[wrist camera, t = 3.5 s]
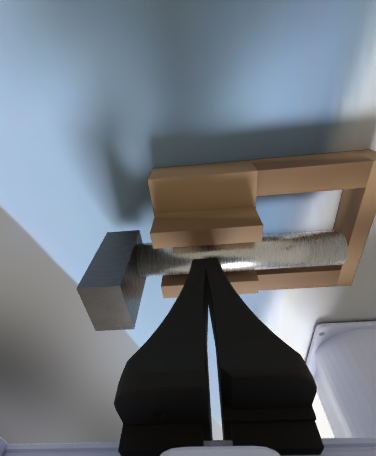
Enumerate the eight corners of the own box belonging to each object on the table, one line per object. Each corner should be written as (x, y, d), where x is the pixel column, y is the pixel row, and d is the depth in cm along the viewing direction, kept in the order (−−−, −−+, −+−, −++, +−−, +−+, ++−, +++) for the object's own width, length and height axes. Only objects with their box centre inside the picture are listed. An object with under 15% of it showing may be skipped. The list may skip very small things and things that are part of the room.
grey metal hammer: (324, 256, 16) (369, 318, 12) (119, 269, 17) (95, 330, 13) (334, 216, 14) (390, 270, 10) (107, 232, 15) (76, 288, 11)
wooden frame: (336, 266, 19) (370, 310, 16) (171, 276, 20) (166, 320, 16) (370, 149, 14) (428, 172, 11) (152, 168, 15) (140, 196, 12)
